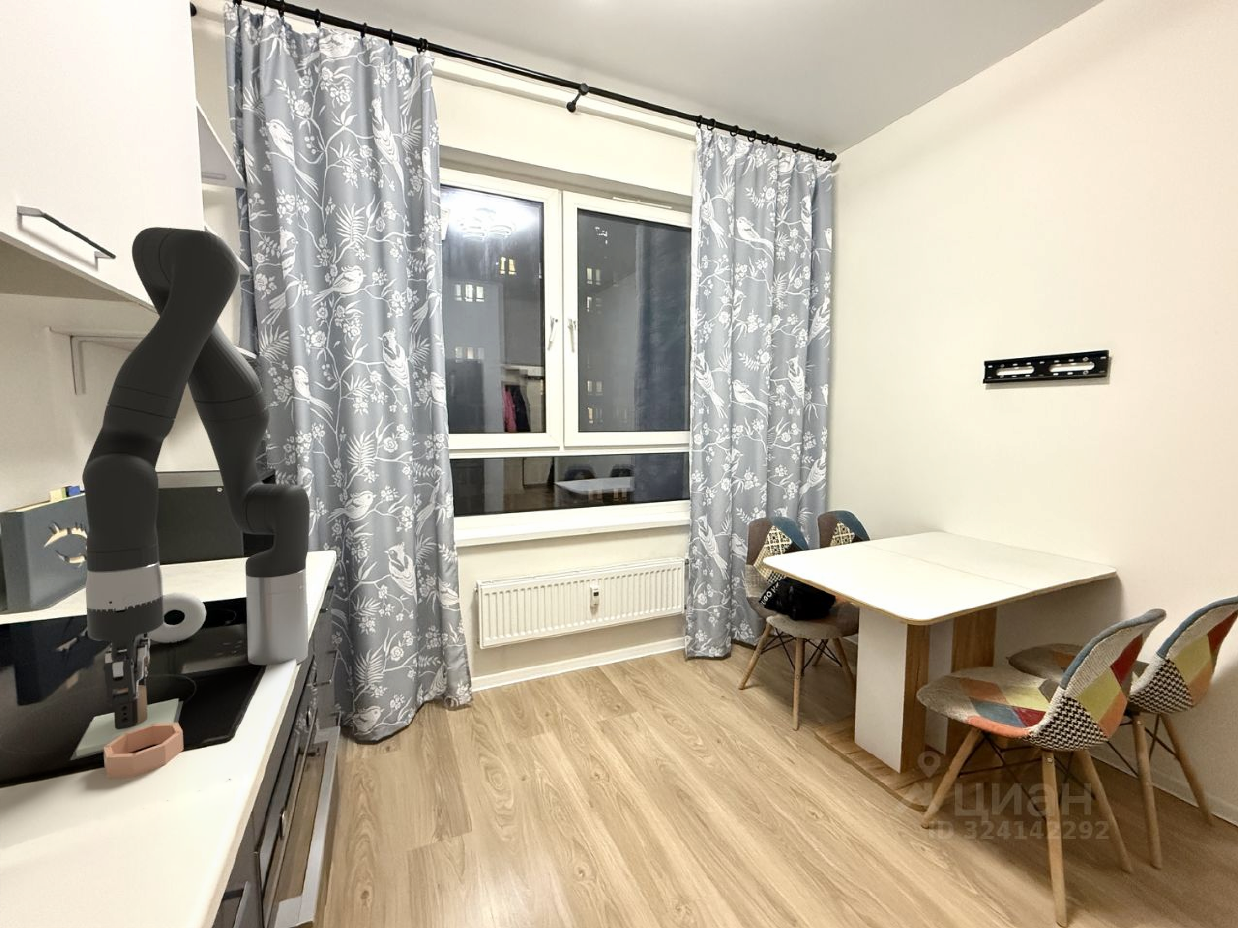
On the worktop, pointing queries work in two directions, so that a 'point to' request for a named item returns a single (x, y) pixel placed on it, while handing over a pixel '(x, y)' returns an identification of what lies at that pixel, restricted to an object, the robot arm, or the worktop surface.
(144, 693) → the lid
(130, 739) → the pink hollow octagonal piece
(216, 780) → the worktop surface
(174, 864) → the worktop surface
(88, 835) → the worktop surface
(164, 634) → the donut
